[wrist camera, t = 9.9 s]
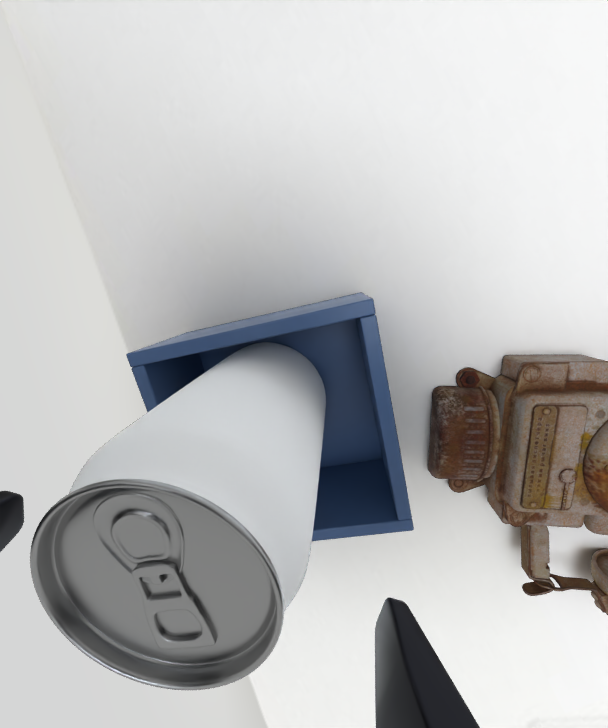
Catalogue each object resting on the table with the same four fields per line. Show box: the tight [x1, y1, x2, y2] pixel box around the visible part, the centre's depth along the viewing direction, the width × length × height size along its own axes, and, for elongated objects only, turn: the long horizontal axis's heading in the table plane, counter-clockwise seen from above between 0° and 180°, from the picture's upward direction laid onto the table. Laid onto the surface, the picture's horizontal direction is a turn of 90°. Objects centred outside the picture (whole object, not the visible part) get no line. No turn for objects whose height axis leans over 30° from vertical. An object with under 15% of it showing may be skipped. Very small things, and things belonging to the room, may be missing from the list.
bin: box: [127, 293, 414, 541], centre depth 16 cm, size 10×10×6 cm
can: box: [30, 342, 326, 690], centre depth 12 cm, size 6×6×12 cm
